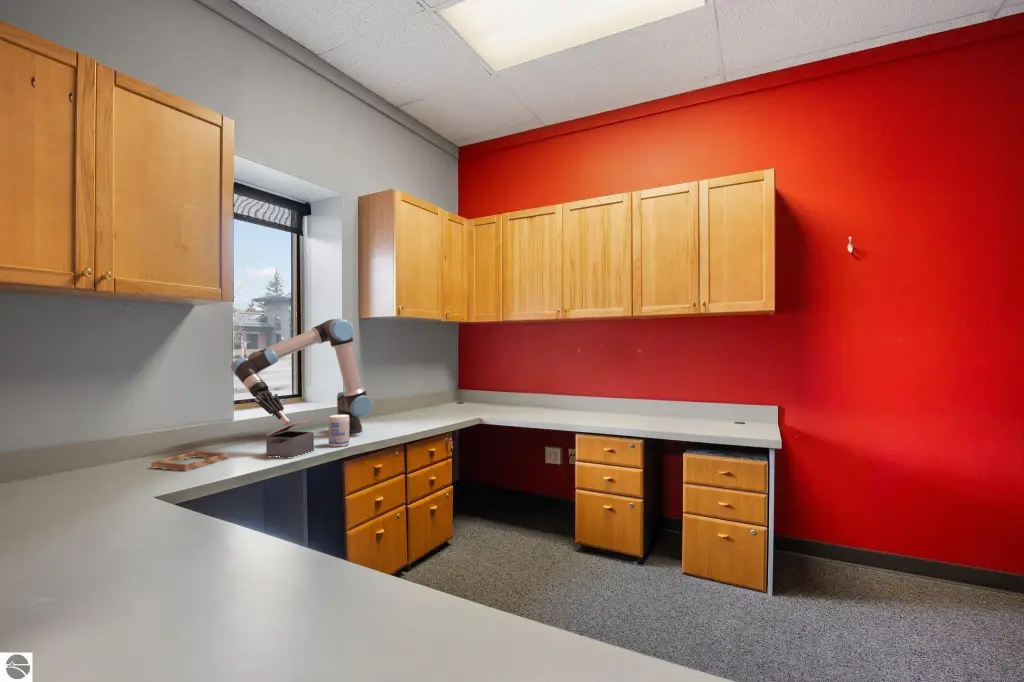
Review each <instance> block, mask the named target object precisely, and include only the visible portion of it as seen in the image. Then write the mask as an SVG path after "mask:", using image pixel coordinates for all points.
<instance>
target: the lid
mask: <svg viewBox="0 0 1024 682" xmlns="http://www.w3.org/2000/svg"><path fill="white" fill-rule="evenodd" d="M311 421H313V418H307V419H303V420H298V421H295V422H291V423H287V424H286V425H283V426H282V427H279V428H277V429H275V430H273V431H271V432H269V433H266V436H270V435H274V434H278V433H282V432H286V431H291V430H293V429H295V428H297V427H299V426H302V425H304V424H306V423H309V422H311Z"/></svg>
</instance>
